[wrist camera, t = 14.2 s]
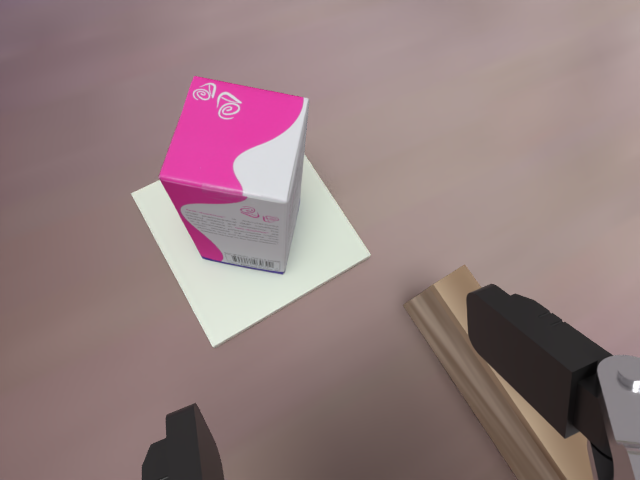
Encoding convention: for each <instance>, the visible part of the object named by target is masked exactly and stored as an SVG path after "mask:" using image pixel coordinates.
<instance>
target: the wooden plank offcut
mask: <svg viewBox="0 0 640 480" xmlns="http://www.w3.org/2000/svg"><path fill="white" fill-rule="evenodd" d="M480 288H481V286H480V285H479V284H478V282H477V281H476V279H475V278H474V277H473V275H472V274H471V272H470V271H469V270H468V268H467V267H466V265H463V266H462V267H460V268H458V269H457V270H455V271H454V272H452V273H451V274H449V275H447V276H446V277H444V278H443V279H441V280H439V281H438V282H436V283H435V284H433V285H432V286H430V287H429V288H428V289H426V290H425V291H423V292H422V293H420V294H419V295H417V296H416V297H414V298H413V299H411V300H410V301H408V302H407V303H405V304H404V305H403V306H404V308H405V309H406V311H407V312H408V314H409V315H410V317H411V318H412V320H413V321H414V323H415V324H416V326H417V327H418V329H419V330H420V332H421V333H422V335H423V336H424V338H425V339H426V341H427V342H428V344H429V345H430V347H431V348H432V350H433V352H434V353H435V355H436V356H437V358H438V359H439V361H440V362H441V364H442V365H443V367H444V368H445V370H446V371H447V373H448V374H449V376H450V377H451V379H452V380H453V382H454V383H455V385H456V386H457V388H458V389H459V391H460V392H461V394H462V395H463V397H464V398H465V400H466V402H467V403H468V405H469V406H470V408H471V409H472V411H473V412H474V414H475V415H476V417H477V418H478V420H479V421H480V423H481V424H482V426H483V427H484V429H485V430H486V432H487V433H488V435H489V436H490V438H491V439H492V441H493V442H494V444H495V445H496V447H497V449H498V450H499V452H500V453H501V455H502V456H503V458H504V459H505V461H506V462H507V464H508V465H509V467H510V468H511V470H512V471H513V473H514V474H515V476H516V477H517V479H518V480H593V475H592V470H591V465H590V460H589V455H588V451H587V438H586V437H585V436H584V435H583V434H582V433H581V432H578V433H576V434H574V435H572V436H570V437H568V438H566V439H564V438H563V437H562V436H561V435H560V434H559V433H558V432H557V431H556V430H555V429H554V428H553V427H552V426H551V425H550V424H549V423H548V422H547V421H546V420H545V419H544V418H543V417H542V416H541V415H540V414H539V413H538V412H537V411H536V410H535V409H534V408H533V407H532V406H531V405H530V404H529V403H528V402H527V401H526V400H525V399H524V398H523V397H522V396H521V395H520V394H519V393H518V392H517V391H516V390H515V389H514V388H513V387H512V386H510V385H509V384H508V383H507V382H506V381H505V380H504V379H503V378H502V377H501V376H500V375H499V374H498V373H497V372H496V371H495V370H494V369H493V368H492V367H491V366H490V365H489V364H488V363H487V362H486V361H485V360H484V359H483V358H482V357H481V356H480V355H479V354H478V353H477V352H476V350H475V349H474V348H473V346H472V344H471V342H470V339H469V336H468V325H467V304H466V297H467V294H468V293H470V292H473V291H475V290H477V289H480Z"/></svg>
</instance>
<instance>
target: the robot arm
mask: <svg viewBox="0 0 640 480" xmlns="http://www.w3.org/2000/svg"><path fill="white" fill-rule="evenodd" d="M466 304H467V325H468V336H469V339H470V342H471V344H472V346H473V348H474V349H475V350H476V352H477V353H478V354H479V355H480V356H481V357H482V358H483V359H484V360H485V361H486V362H487V363H488V364H489V365H490V366H491V367H492V368H493V369H494V370H495V371H496V372H497V373H498V374H499V375H500V376H501V377H502V378H503V379H504V380H505V381H506V382H507V383H508V384H509V385H510V386H512V387H513V388H514V389H515V390H516V391H517V392H518V393H519V394H520V395H521V396H522V397H523V398H524V399H525V400H526V401H527V402H528V403H529V404H530V405H531V406H532V407H533V408H534V409H535V410H536V411H537V412H538V413H539V414H540V415H541V416H542V417H543V418H544V419H545V420H546V421H547V422H548V423H549V424H550V425H551V426H552V427H553V428H554V429H555V430H556V431H557V432H558V433H559V434H560V435H561V436H562V437H563V438H564V439H566V438H568V437H570V436H572V435H574V434H576V433H578V432H581V433H582V434H583V435H584V436H585V437H586V438H587V451H588V455H589V460H590V465H591V470H592V475H593V480H640V358H638V357H634V356H628V355H615V356H613V355H612V354H610V353H609V352H607V351H606V350H604V349H603V348H601V347H600V346H599V345H597V344H596V343H594V342H593V341H591V340H590V339H589V338H587V337H586V336H584V335H583V334H582V333H580V332H579V331H577V330H576V329H574V328H573V327H572V326H570V325H569V324H567V323H566V322H562V319H560V318H559V317H557V316H556V315H554V314H553V313H550V311H549V310H547V309H546V308H545V307H543V306H542V305H540V304H539V303H537V302H536V301H535V300H532V299H529V298H526V297H523V296H521V295H518V294H513V295H511V296H510V295H509V294H507V293H506V292H505V291H503V290H502V289H500V288H499V287H498V286H496V285H494V284H490V285H487V286H485V287H482V288H480V289H477V290H475V291H473V292H470V293H468V294H467V297H466ZM142 480H224V475H223V469H222V463H221V459H220V455H219V452H218V449H217V446H216V443H215V441H214V438H213V436H212V434H211V432H210V430H209V428H208V426H207V424H206V422H205V420H204V418H203V416H202V414H201V412H200V409H199V408H198V406H197V404H196V403H194V404H192V405H189V406H187V407H184V408H182V409H180V410H177V411H175V412H172V413H170V414H167V415H166V438H165V439H163V440H160V441H158V442H156V443H153V444H151V445H150V448H149V450H148V453H147V455H146V458H145V460H144V462H143V465H142Z"/></svg>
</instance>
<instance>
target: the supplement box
mask: <svg viewBox="0 0 640 480" xmlns="http://www.w3.org/2000/svg"><path fill="white" fill-rule="evenodd" d="M308 109H309V99H308V98H304V97H299V96H294V95H288V94H284V93H279V92H274V91H268V90H263V89H258V88H253V87H248V86H242V85H238V84H232V83H228V82H223V81H218V80H213V79H207V78H203V77H197V76H194V77H193V80H192V82H191V85H190V88H189V91H188V94H187V97H186V100H185V104H184V107H183V110H182V113H181V116H180V118H179V121H178V124H177V127H176V129H175V132H174V135H173V138H172V140H171V143H170V146H169V149H168V152H167V154H166V157H165V160H164V163H163V165H162V168H161V171H160V174H159V179H160V181H161V183H162V185H163V187H164V188H165V190H166V192H167V194H168V196H169V197H170V199H171V201H172V203H173V205H174V206H175V208H176V210H177V212H178V214H179V216H180V218H181V220H182V222H183V223H184V225H185V227H186V229H187V231H188V233H189V234H190V236H191V238H192V240H193V242H194V244H195V246H196V248H197V250H198V251H199V253H200V255H201V257H202V258H203V259H206V260H210V261H215V262H219V263H224V264H229V265H234V266H239V267H245V268H250V269H255V270H261V271H266V272H272V273H277V274H282V275H283V274H284V273H285V270H286V265H287V261H288V256H289V252H290V247H291V243H292V238H293V234H294V229H295V224H296V220H297V215H298V210H299V205H300V195H301V183H302V173H303V162H304V151H305V140H306V130H307V119H308Z"/></svg>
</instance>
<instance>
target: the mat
mask: <svg viewBox="0 0 640 480" xmlns="http://www.w3.org/2000/svg"><path fill="white" fill-rule="evenodd" d="M131 194H132V196H133V198H134V200H135V202H136V204H137V206H138V208H139V209H140V211H141V213H142V215H143V217H144V219H145V221H146V223H147V224H148V226H149V228H150V230H151V232H152V234H153V236H154V238H155V239H156V241H157V243H158V245H159V247H160V249H161V251H162V253H163V254H164V256H165V258H166V260H167V262H168V264H169V266H170V268H171V270H172V271H173V273H174V275H175V277H176V279H177V281H178V283H179V285H180V286H181V288H182V290H183V292H184V294H185V296H186V298H187V300H188V301H189V303H190V305H191V307H192V309H193V311H194V313H195V315H196V316H197V318H198V320H199V322H200V324H201V326H202V328H203V330H204V332H205V333H206V335H207V337H208V339H209V341H210V343H211V345H212V347H213V348H216V347H218V346H219V345H221V344H223V343H225V342H226V341H228V340H230V339H231V338H233V337H235V336H237V335H238V334H240V333H242V332H243V331H245V330H247V329H248V328H250V327H252V326H254V325H255V324H257V323H259V322H260V321H262V320H264V319H266V318H267V317H269V316H271V315H272V314H274V313H276V312H277V311H279V310H281V309H283V308H284V307H286V306H288V305H289V304H291V303H293V302H295V301H296V300H298V299H300V298H301V297H303V296H305V295H307V294H308V293H310V292H312V291H313V290H315V289H317V288H318V287H320V286H322V285H324V284H325V283H327V282H329V281H330V280H332V279H334V278H336V277H337V276H339V275H341V274H342V273H344V272H346V271H348V270H349V269H351V268H353V267H354V266H356V265H358V264H359V263H361V262H363V261H365V260H366V259H368V258H369V257H370V255H371V254H370V253H369V251H368V250H367V248H366V247H365V245H364V244H363V242H362V241H361V239H360V238H359V236H358V235H357V233H356V232H355V230H354V228H353V227H352V225H351V224H350V222H349V221H348V219H347V218H346V216H345V215H344V213H343V212H342V210H341V209H340V207H339V206H338V204H337V203H336V201H335V200H334V198H333V197H332V195H331V194H330V192H329V191H328V189H327V188H326V186H325V185H324V183H323V182H322V180H321V179H320V177H319V175H318V174H317V172H316V171H315V169H314V168H313V166H312V165H311V163H310V162H309V160H308V159H307V157H306V156H305V154H304V162H303V173H302V183H301V195H300V205H299V210H298V215H297V220H296V224H295V229H294V234H293V238H292V243H291V247H290V252H289V256H288V261H287V265H286V270H285V273H284V274H283V275H282V274H277V273H272V272H266V271H261V270H255V269H250V268H245V267H239V266H234V265H229V264H224V263H219V262H215V261H210V260H206V259H203V258H202V257H201V255H200V253H199V251H198V250H197V248H196V246H195V244H194V242H193V240H192V238H191V236H190V234H189V233H188V231H187V229H186V227H185V225H184V223H183V222H182V220H181V218H180V216H179V214H178V212H177V210H176V208H175V206H174V205H173V203H172V201H171V199H170V197H169V196H168V194H167V192H166V190H165V188H164V187H163V185H162V183H161V181H160V180H159V181H157V182H154V183H152V184H150V185H148V186H146V187H144V188H142V189H140V190H137V191H135V192H133V193H131Z"/></svg>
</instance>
